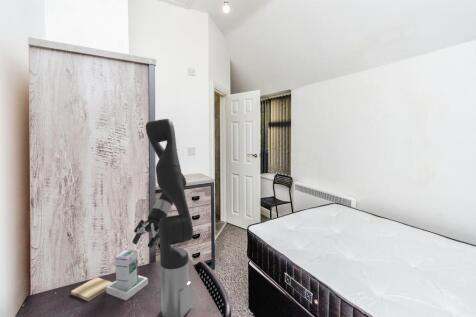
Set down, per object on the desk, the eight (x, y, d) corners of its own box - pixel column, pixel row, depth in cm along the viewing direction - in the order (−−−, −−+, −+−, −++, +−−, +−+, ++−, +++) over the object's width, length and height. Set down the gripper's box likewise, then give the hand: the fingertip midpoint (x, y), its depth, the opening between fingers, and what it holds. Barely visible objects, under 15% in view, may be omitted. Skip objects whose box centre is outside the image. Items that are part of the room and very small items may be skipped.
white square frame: (148, 283, 93) (147, 278, 93) (126, 300, 83) (126, 294, 83) (129, 277, 97) (128, 272, 97) (106, 293, 87) (106, 286, 87)
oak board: (113, 285, 92) (113, 282, 92) (88, 301, 83) (88, 298, 82) (96, 279, 96) (96, 276, 96) (71, 294, 86) (71, 291, 86)
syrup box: (129, 294, 87) (128, 257, 86) (116, 292, 88) (114, 256, 87) (138, 284, 92) (137, 250, 91) (126, 283, 93) (125, 249, 92)
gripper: (144, 205, 106) (123, 239, 96) (168, 209, 100) (149, 245, 90) (152, 213, 111) (134, 245, 101) (176, 217, 105) (159, 251, 96)
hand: (141, 245), depth 96 cm, fingers open, 8 cm apart
